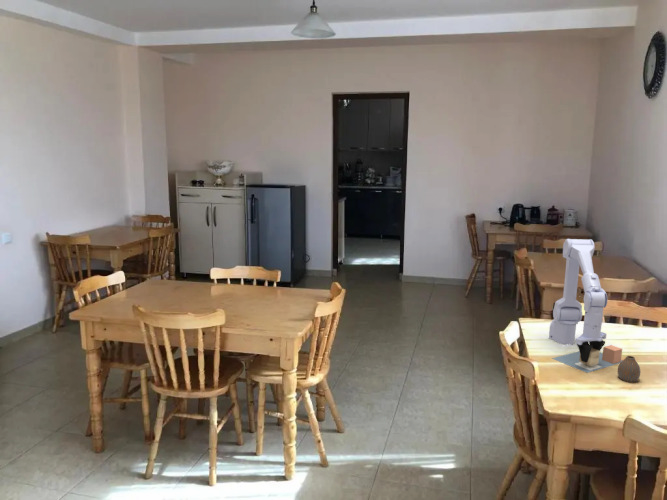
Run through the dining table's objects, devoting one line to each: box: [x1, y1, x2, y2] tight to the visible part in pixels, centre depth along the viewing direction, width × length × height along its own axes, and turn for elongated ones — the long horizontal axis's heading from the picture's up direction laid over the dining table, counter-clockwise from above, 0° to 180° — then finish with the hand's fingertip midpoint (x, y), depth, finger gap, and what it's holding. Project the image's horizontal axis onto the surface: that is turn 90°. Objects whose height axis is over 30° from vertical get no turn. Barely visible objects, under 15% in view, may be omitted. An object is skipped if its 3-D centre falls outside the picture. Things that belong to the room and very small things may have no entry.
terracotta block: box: [602, 344, 623, 364], centre depth 209 cm, size 4×4×5 cm
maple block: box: [579, 348, 601, 366], centre depth 204 cm, size 4×4×5 cm
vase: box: [617, 355, 641, 383], centre depth 193 cm, size 7×7×9 cm
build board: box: [551, 350, 624, 374], centre depth 210 cm, size 15×22×1 cm
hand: (588, 360), depth 204 cm, fingers closed on maple block, 4 cm apart
